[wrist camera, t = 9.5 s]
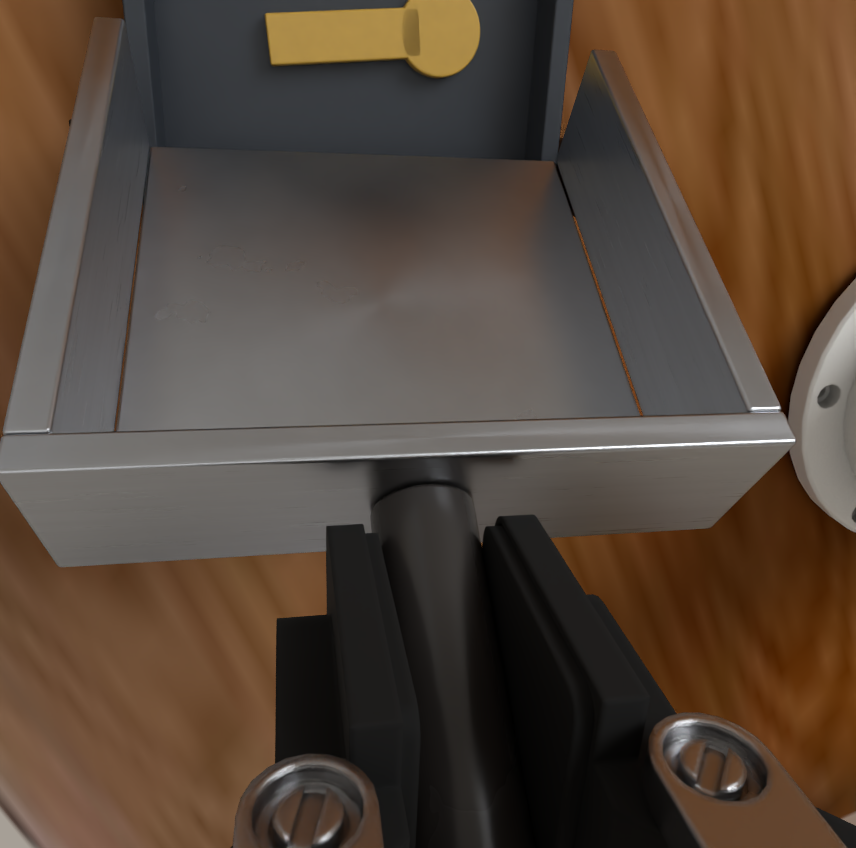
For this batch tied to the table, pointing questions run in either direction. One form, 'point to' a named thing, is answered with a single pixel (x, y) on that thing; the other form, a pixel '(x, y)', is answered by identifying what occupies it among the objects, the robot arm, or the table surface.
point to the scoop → (381, 377)
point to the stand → (557, 170)
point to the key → (379, 36)
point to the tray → (347, 84)
